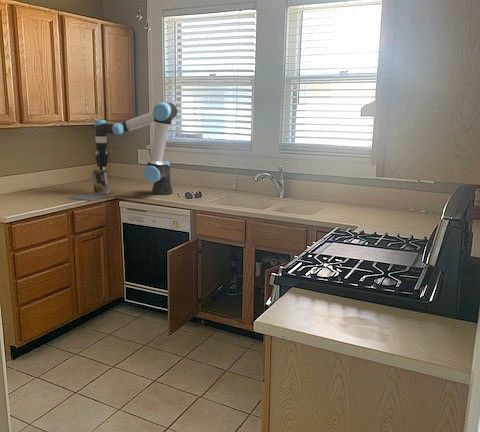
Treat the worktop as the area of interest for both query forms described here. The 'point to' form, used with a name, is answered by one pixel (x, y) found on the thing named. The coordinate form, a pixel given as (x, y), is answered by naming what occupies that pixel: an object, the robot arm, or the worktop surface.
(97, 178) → the coffee box
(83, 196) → the mat
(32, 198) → the worktop surface
